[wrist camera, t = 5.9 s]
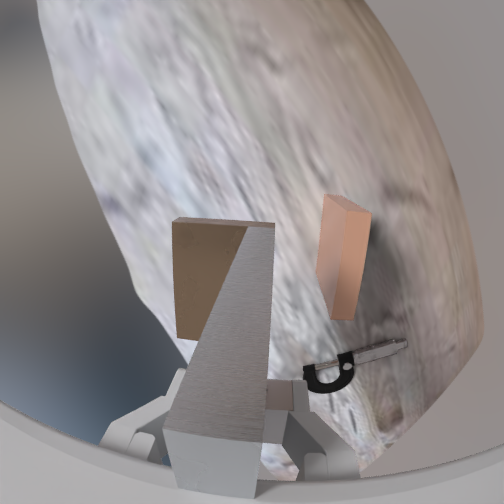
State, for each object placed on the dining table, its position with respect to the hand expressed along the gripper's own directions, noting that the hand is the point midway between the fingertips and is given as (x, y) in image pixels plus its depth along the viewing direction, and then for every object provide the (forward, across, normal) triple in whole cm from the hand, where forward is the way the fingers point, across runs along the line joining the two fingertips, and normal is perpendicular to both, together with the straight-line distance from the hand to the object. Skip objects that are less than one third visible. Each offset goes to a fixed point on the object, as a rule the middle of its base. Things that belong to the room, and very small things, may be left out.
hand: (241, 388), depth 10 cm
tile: (+25, -7, 0) cm, 26 cm away
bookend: (+10, +2, 0) cm, 10 cm away
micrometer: (+25, -14, +18) cm, 34 cm away
